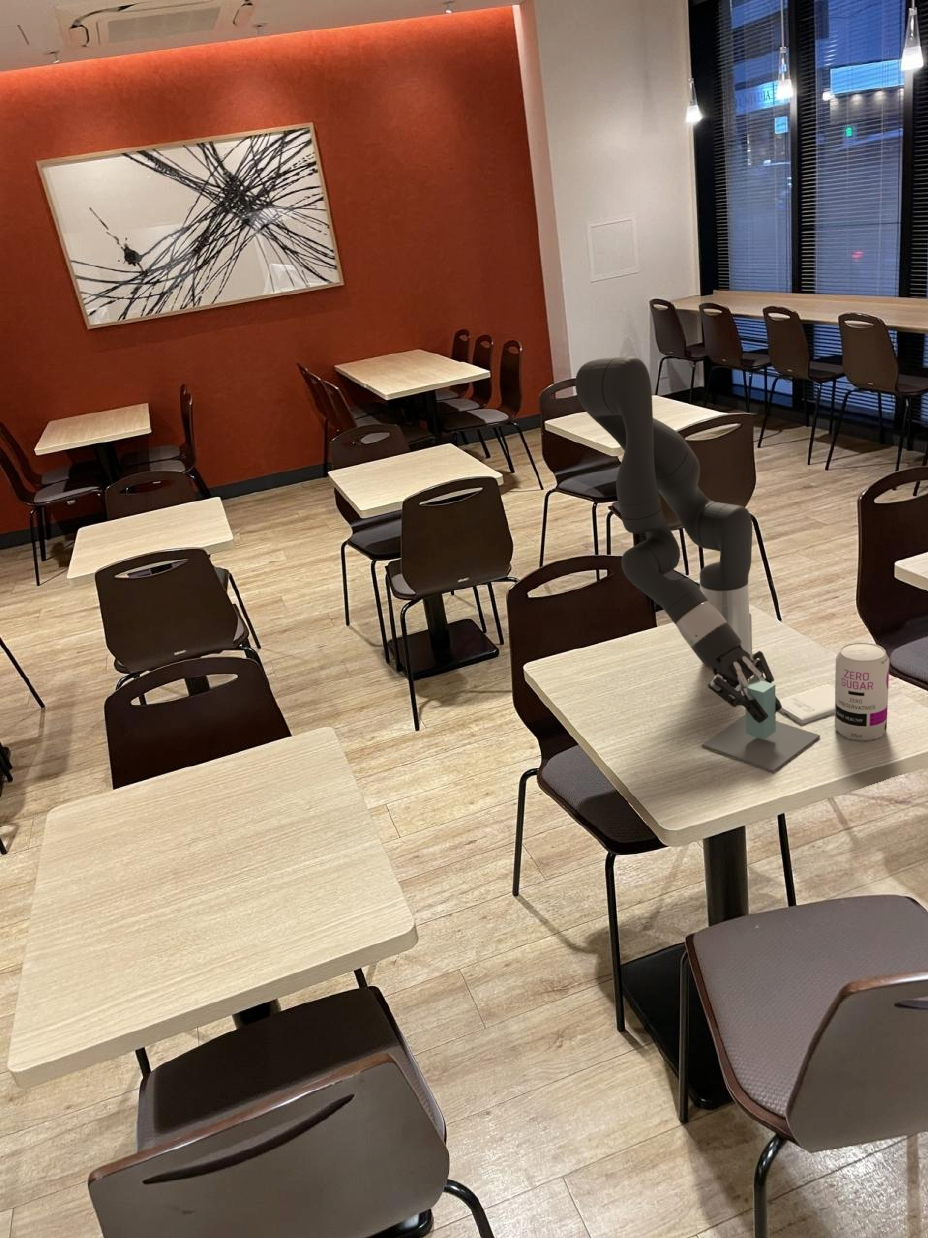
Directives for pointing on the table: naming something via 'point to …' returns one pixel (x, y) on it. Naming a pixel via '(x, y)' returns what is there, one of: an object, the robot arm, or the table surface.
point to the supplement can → (861, 691)
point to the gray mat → (761, 744)
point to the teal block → (767, 700)
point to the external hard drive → (810, 704)
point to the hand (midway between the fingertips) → (770, 714)
